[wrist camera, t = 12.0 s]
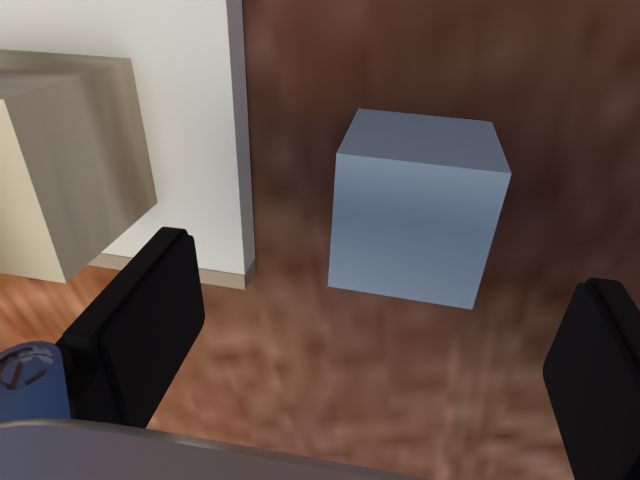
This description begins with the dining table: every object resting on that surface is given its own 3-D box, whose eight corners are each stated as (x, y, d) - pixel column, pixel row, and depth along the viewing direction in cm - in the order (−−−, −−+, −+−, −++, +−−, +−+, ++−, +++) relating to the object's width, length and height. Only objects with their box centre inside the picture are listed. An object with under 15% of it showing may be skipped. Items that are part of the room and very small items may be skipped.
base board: (238, -66, 15) (220, -68, 14) (255, 270, 23) (244, 289, 21) (-106, -76, 17) (-150, -80, 16) (12, 233, 25) (-11, 249, 24)
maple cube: (130, 58, 17) (3, 99, 12) (157, 202, 20) (66, 283, 15) (-9, 48, 18) (-182, 82, 13) (38, 187, 21) (-86, 258, 16)
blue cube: (491, 121, 17) (511, 173, 13) (463, 235, 20) (472, 309, 15) (358, 107, 18) (336, 153, 13) (348, 219, 20) (327, 286, 16)
